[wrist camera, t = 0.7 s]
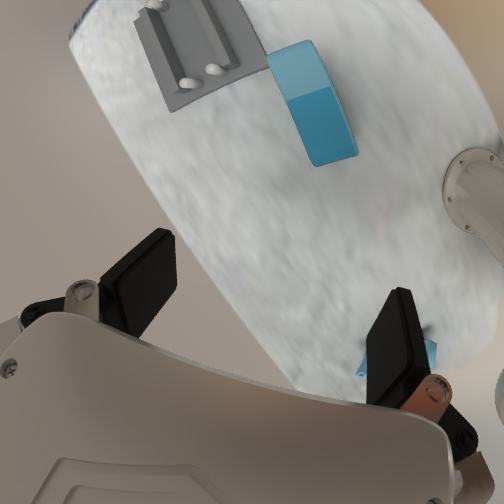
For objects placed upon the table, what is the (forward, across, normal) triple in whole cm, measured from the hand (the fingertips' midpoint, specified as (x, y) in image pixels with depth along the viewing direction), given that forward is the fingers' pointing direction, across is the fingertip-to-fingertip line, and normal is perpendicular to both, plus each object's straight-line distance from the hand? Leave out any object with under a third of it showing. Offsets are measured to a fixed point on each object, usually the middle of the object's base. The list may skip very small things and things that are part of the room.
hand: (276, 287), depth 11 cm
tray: (+28, +19, -16) cm, 38 cm away
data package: (+28, +1, -7) cm, 29 cm away
